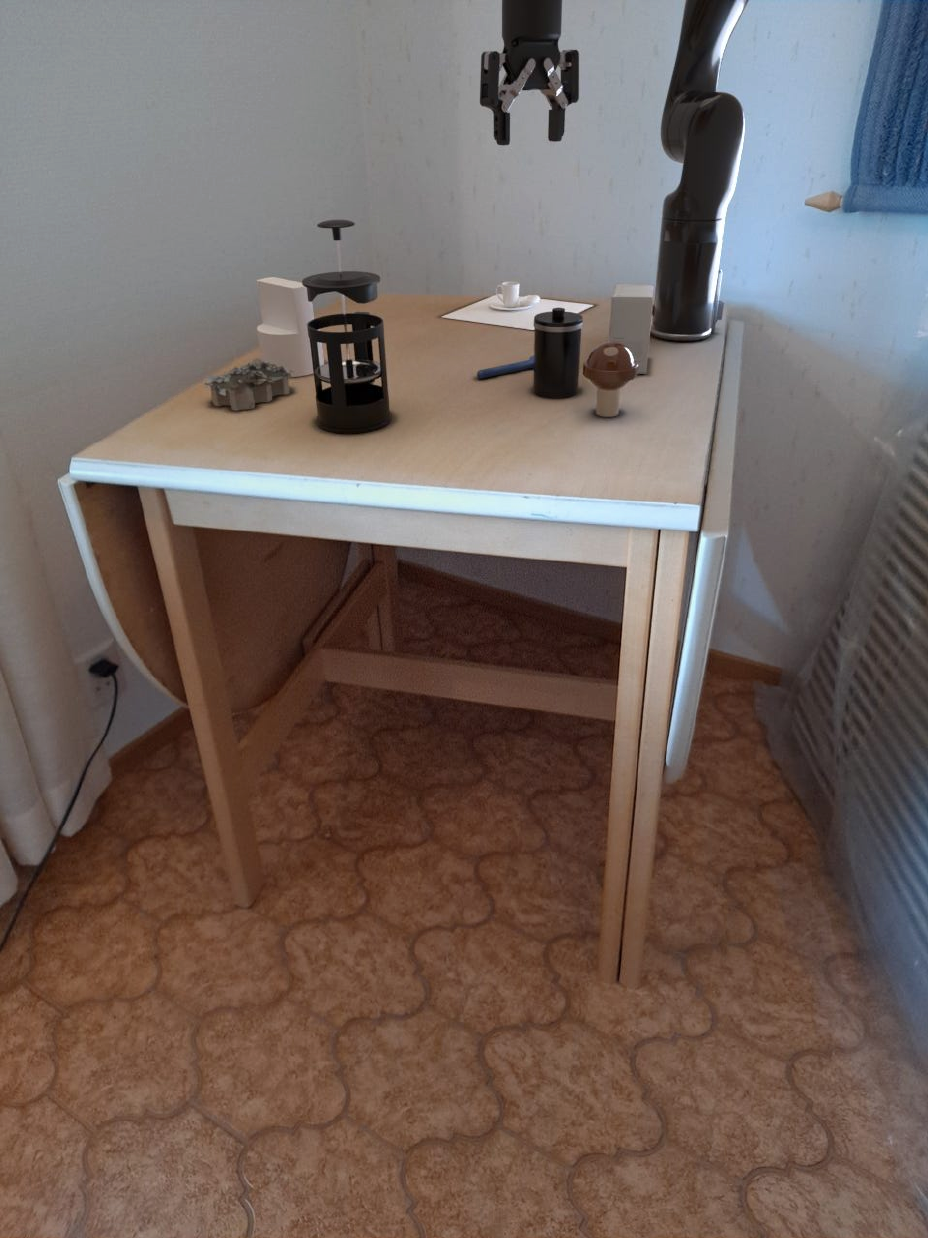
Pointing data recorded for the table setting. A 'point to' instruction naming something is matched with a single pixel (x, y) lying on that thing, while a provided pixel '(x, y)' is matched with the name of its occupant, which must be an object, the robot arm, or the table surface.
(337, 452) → the table surface
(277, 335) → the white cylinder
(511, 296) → the teacup and saucer
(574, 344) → the pot
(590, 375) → the mushroom
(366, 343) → the french press
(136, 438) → the table surface
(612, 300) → the small box
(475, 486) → the table surface
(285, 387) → the egg carton
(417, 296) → the table surface
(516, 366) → the round blue paddle
